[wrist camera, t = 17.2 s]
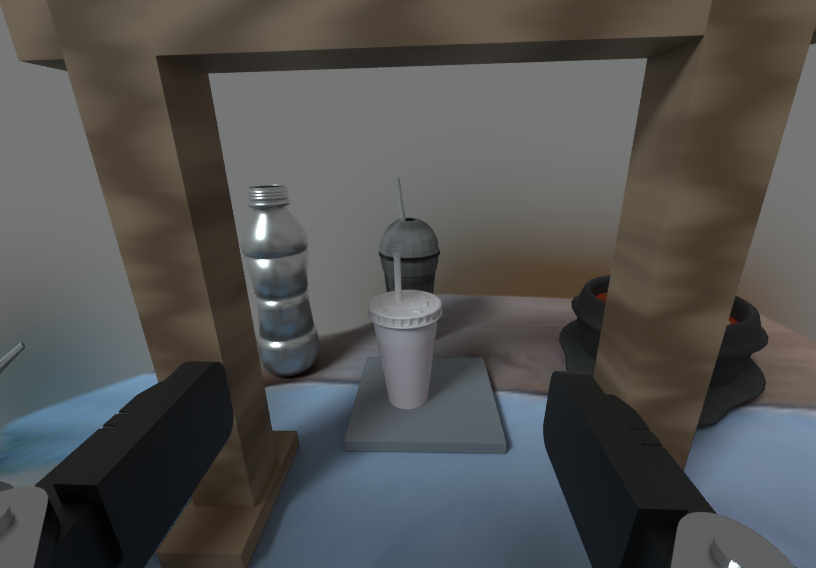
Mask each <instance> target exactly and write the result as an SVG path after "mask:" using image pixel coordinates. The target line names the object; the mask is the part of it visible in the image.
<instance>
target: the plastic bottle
mask: <svg viewBox="0 0 816 568" xmlns="http://www.w3.org/2000/svg"><path fill="white" fill-rule="evenodd" d="M247 194H248V200H249V202H248V206H249V207H250V208H252V209H253V210H252V211H253V213H252V215H251V217H250V219H249V221H248V222H247V224H246V226H245V229H244V231H243V233H242V238H241V248H242V252H243V254H244V258H245V261H246V264H247V268H248V271H249V274H250V277H251V280H252V284H253V289H254V293H255V295H256V302H257V308H258V321H259V341H258V349H259V357H260V359H261V362H262V365H263V367H264V368H265V369H266V370H267V371H268V372H269V373H271V374H273V375H275V376H281V377H285V376H293V375H297V374H300V373H302V372H305V371H306V370H308V369H310V368H311V367H312V366H313V365H314V363H315V362H316V360H317V358H318V356H319V347H320V341H319V337H318V333H317V330H316V327H315V325H314V322H313V317H312V312H311V307H310V302H309V296H308V288H307V287H308V278H307V261H308V248H307V247H308V237H307V235H306V232H305V230H304V228H303V227H302V226H301V224H300V223H299V222H298V220H297V219H296V218H295V217H294V216H293V215H292V214H291V213H290V212H289V211H288V208H287V205H289V204H290V200H289V199H288V193H287V187H286V185H259V186H250V187H247Z"/></svg>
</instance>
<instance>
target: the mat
mask: <svg viewBox="0 0 816 568" xmlns="http://www.w3.org/2000/svg"><path fill="white" fill-rule="evenodd" d="M506 445H507V443H506V440H505V436H504V432H503V429H502V425H501V421H500V418H499V414H498V410H497V406H496V403H495V399H494V395H493V392H492V388H491V384H490V381H489V377H488V373H487V370H486V366H485V362H484V359H483V357H433V360H432V368H431V376H430V383H429V391H428V398H427V401H426V402H425V403H424V404H423V405H422V406H420V407H418V408H414V409H401V408H397V407H395V406H394V405H392V404H391V403H390V401H389V397H388V392H387V387H386V382H385V377H384V372H383V367H382V362H381V357H367V360H366V364H365V367H364V371H363V374H362V378H361V381H360V385H359V389H358V392H357V396H356V399H355V403H354V406H353V410H352V414H351V417H350V421H349V424H348V428H347V431H346V435H345V439H344V449H345V451H377V452H436V453H495V454H506Z"/></svg>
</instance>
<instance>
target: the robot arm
mask: <svg viewBox="0 0 816 568" xmlns="http://www.w3.org/2000/svg"><path fill="white" fill-rule="evenodd" d="M233 422H234V412H233V407H232V402H231V397H230V392H229V387H228V382H227V377H226V372H225V368H224V366H223V364H222V363H220V362H211V361H186V362H184V363H183V364H182V365H180V366H179V367H178V368H177V369H176V370H175V371H174V372H173V373H172V374H171V375H170V376H168V377H167V378H166V379H165V380H164V381H161V382H159V383H157V384H156V385H154V386H152V387H150V388H148V389H147V390H145V391H143V392H141V393H140V394H138V395H137V396H135V397H134V398H133V399H132V400H131V401H130V402H129V403H128V404H126V405H125V406H124V407H123V408H122V409H121V410H120V411H119V414H115V415H114V416H113V417H112V418H111V419H109V420H108V421H107V422H106V423H105V424H104V425H103V428H102V429H98V430H97V431H96V432H95V433H94V434H92V435H91V436H90V437H89V438H88V439H87V440H86V441H85V442H83V443H82V444H81V445H80V446H79V447H78V448H77V449H76V450H74V451H73V452H72V453H71V454H70V455H69V456H68V457H66V458H65V459H64V460H63V461H62V462H61V463H60V464H59V465H57V466H56V467H55V468H54V469H53V470H52V471H51V472H50V473H49V474H47V475H46V476H45V477H44V478H43V479H42V480H40V481H39V482H38V483H37V484H36V485H35V486H24V487H17V488H12V489H8V490H5V491H2V492H0V568H144V567H145V565H146V564H147V562H148V560H149V559H150V557H151V556H152V554H153V553H154V551H155V550H156V548H157V547H158V545H159V544H160V542H161V541H162V539H163V538H164V536H165V535H166V533H167V532H168V530H169V529H170V527H171V526H172V524H173V522H174V521H175V519H176V518H177V516H178V515H179V513H180V512H181V510H182V509H183V507H184V506H185V504H186V503H187V501H188V500H189V498H190V497H191V495H192V494H193V492H194V491H195V489H196V487H197V486H198V484H199V483H200V481H201V480H202V478H203V477H204V475H205V474H206V472H207V471H208V469H209V468H210V466H211V465H212V463H213V462H214V460H215V459H216V457H217V456H218V454H219V453H220V451H221V449H222V448H223V446H224V445H225V443H226V442H227V440H228V439H229V437H230V434H231V431H232V428H233ZM543 435H544V443H545V447H546V451H547V453H548V456H549V459H550V461H551V464H552V466H553V469H554V471H555V474H556V476H557V479H558V481H559V484H560V487H561V489H562V492H563V494H564V497H565V499H566V502H567V504H568V507H569V509H570V512H571V515H572V517H573V520H574V522H575V525H576V527H577V530H578V532H579V535H580V537H581V540H582V542H583V545H584V548H585V550H586V553H587V555H588V558H589V560H590V563H591V565H592V568H795V567H794V566H793V565H792V564H791V563H790V561H789V560H788V559H787V558H786V557H785V556H784V555H783V554H782V553H781V552H780V551H779V550H778V549H777V548H776V547H775V546H774V545H773V544H771V543H770V542H769V541H768V540H766V539H765V538H764V537H762V536H761V535H760V534H758V533H757V532H755V531H753V530H752V529H750V528H748V527H747V526H745V525H743V524H741V523H739V522H737V521H735V520H732V519H730V518H727V517H724V516H721V515H718V514H716V512H715V511H714V510H713V509H712V507H711V506H710V505H709V503H708V502H707V501H706V500H705V498H704V497H703V496H702V494H701V493H700V492H699V491H698V489H697V488H696V487H695V486H694V484H693V483H692V482H691V480H690V479H689V478H688V477H687V475H686V474H685V473H684V471H683V470H682V469H681V468H680V466H679V465H678V464H677V463H676V461H675V460H674V459H673V457H672V456H671V455H670V454H669V452H668V451H667V450H666V448H663V447H662V443H661V442H660V441H659V440H658V438H657V437H656V436H655V434H654V433H653V432H650V428H649V427H648V425H647V424H646V423H645V422H644V420H643V419H642V418H641V417H640V415H639V414H638V413H637V411H636V410H635V409H633V408H632V407H631V406H629V405H628V404H626V403H625V402H624V401H622V400H621V399H620V398H618V397H617V396H615V395H613V394H605V393H604V392H603V390H602V389H601V387H600V386H599V385H598V383H597V382H596V380H595V379H594V378H593V376H592V375H591V374H590V373H589V372H573V371H555V372H553V374H552V376H551V380H550V386H549V392H548V399H547V405H546V411H545V417H544V424H543Z"/></svg>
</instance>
